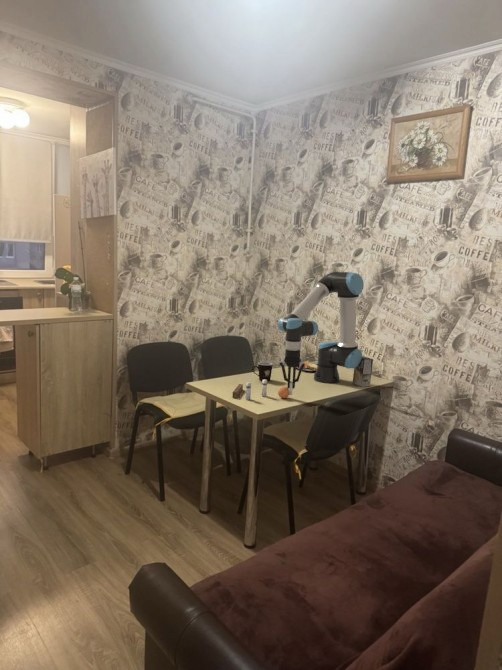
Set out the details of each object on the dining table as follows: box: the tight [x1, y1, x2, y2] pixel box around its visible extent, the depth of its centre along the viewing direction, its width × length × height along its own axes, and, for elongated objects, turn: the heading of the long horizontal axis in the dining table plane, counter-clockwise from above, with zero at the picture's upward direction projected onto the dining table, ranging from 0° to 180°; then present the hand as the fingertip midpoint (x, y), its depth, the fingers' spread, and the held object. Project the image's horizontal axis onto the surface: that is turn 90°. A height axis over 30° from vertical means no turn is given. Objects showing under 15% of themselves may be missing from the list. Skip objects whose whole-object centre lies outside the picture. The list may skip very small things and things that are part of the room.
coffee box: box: [352, 355, 374, 388], centre depth 268 cm, size 9×6×16 cm
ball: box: [277, 386, 290, 399], centre depth 238 cm, size 6×6×6 cm
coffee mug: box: [251, 361, 274, 383], centre depth 271 cm, size 12×9×10 cm
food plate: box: [296, 359, 318, 372], centre depth 306 cm, size 25×23×4 cm
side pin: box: [245, 381, 252, 401], centre depth 233 cm, size 2×2×8 cm
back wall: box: [232, 383, 244, 399], centre depth 243 cm, size 2×16×3 cm, turn 170°
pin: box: [261, 380, 268, 398], centre depth 240 cm, size 2×2×8 cm
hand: (290, 394), depth 237 cm, fingers closed
